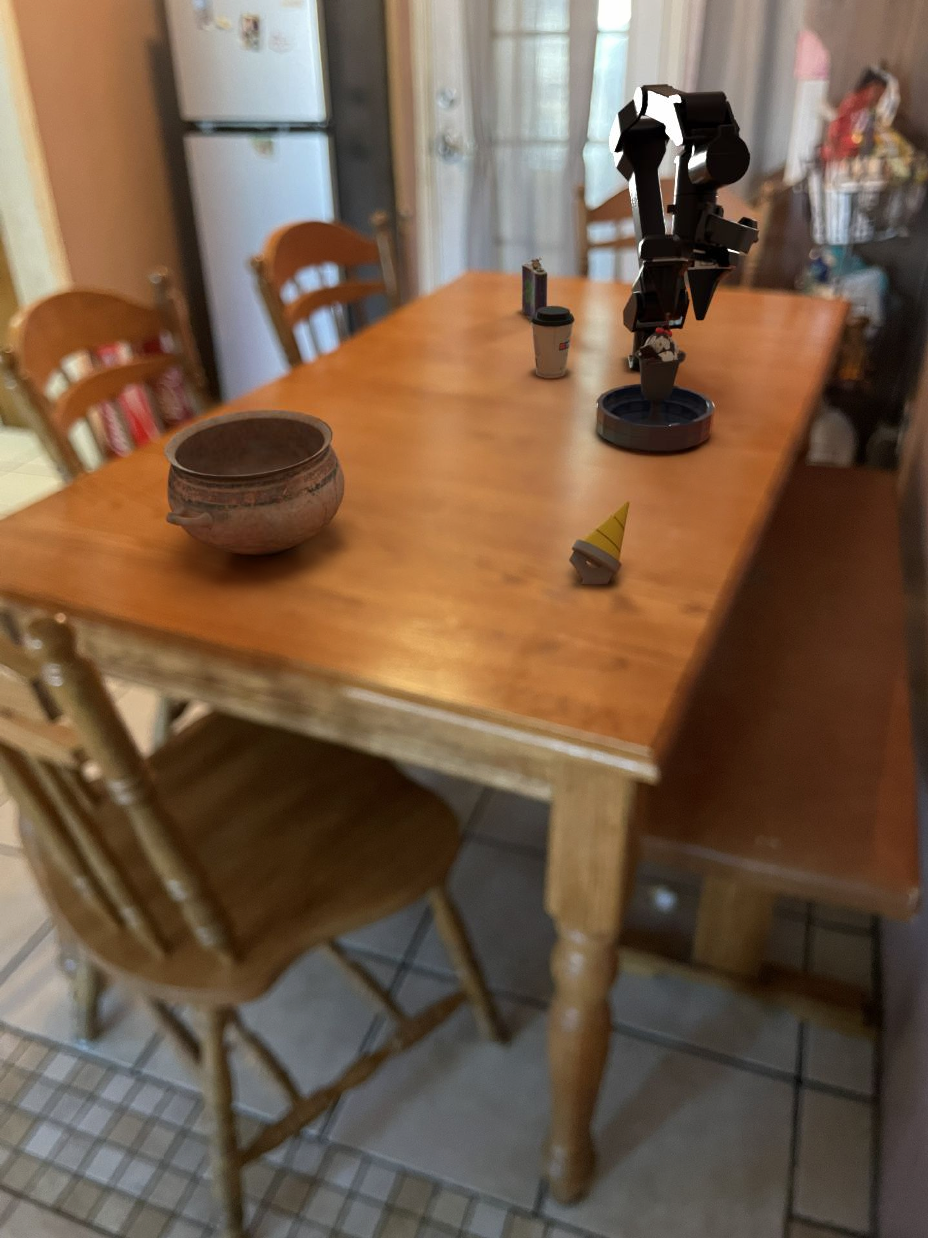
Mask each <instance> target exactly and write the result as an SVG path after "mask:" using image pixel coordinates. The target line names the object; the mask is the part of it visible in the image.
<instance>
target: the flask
mask: <svg viewBox="0 0 928 1238" xmlns="http://www.w3.org/2000/svg"><path fill="white" fill-rule="evenodd" d="M542 259H543V258H541V257H539V258H531V259H530V261H531V263H530V262H529V263H528V262H527V263H523V264H521V282H522V283H521V313H522V314H523V315H525V316H526V318H528V319H531V316H532V315H533V314H534V313H537V310H538V309H539V308H541V307H545V306H548V272H547V271H546V270H545V269H544V268H543V266H542V264H541V263H540V261H542Z"/></svg>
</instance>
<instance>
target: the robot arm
mask: <svg viewBox="0 0 928 1238" xmlns="http://www.w3.org/2000/svg"><path fill="white" fill-rule="evenodd" d="M642 117H644V118H642ZM740 131H741V127H740V126H739V124H738V122H737V120H736V118H735V115H734V112H733V109H732V106H731V104H730V101H729V100H728V97H727V95H726V93H725V92H724V91H723V90H718V91H717V90H716V91H694V92H693V91H691V92H686V91H683V90H681V89H677V88H675V87H673V85H669V84H668V83H660V84H659V83H658V84H643V85H641V86H639V87H637V88H636V90H635V93H634V96H633V98H632V99H631V100H630V101H629V102H628V103H627V104H626V105H625V106H624V107H622V109H620V110H619V111H618V112H617V113H616V116H615V119H614V121H613V125H612V127H611V131H610V134H609V135H610V136H609V150H610V152H611V153H612V154H613V158H614V164H615V168H616V170H617V171H618V173H619V174H621V176H622V177H623V178H624V179H625V180H626V182H627V184H628V190H629V197H630V198H629V199H630V205H631V213H632V214H631V215H632V222H633V229H634V237H635V246H636V254H637V262H638V273H637V275H636V278H635V280H634V282H633V284H632V286H631V294H630V296H629V298H628V300H627V302H626V304H625V306H624V308H623V310H622V324H623V326H624V327H625V328H626V330H628V331H629V332H630V333H631V334H633V340H632V352H631V353H632V354H629V355H627V359H628V360H627V361H628V365H629V371H631V372H632V371H633V372H640V363H639V359H638V358H637V357H636V356H635V353H636V352H637V351H638V350H639V348H640V347H643V346H645V344H646V341H647V339H648V338H649V337H650V336H651V335H653V334H654V333H655V330H656V329H657V328H660V327H662V325H663V324H664V323H665V321H666V313H670V316H669V325H670V331H671V332H672V330H683V328H684V325H685V322H686V318H687V315H688V312H689V311H688V310H689V307H690V302H691V303H692V309H693V314H694V317H695V321H697V322H698V321H699V322H700V321H704V320H705V319H706V316H707V313H708V312H709V311H708V310H709V308H710V305H711V303H712V301H713V297H714V295H715V293H716V290H717V288H718V285H719V283H720V282H721V281H722V280H723V279H724V278H726V277H727V275H729V274H730V275H731V274H732V273H733V271H734V269H735V268H738V267H739V260H740V253H741V252H742V253H744V254H745V255H748V254H749V253H750V250H751V248H752V245H753V244H758V242H759V240H760V237H759V233H760V230H759V229H758V226H759V225H758V220H756V219H754V218H751V217H747V216H742V217H741V218H740V219H739V220H737V221H734V220H731V219H728V218H725V217H724V215H725V209H724V207H723V205H720V204H718V195H719V190H720V189H723V188H726V187H728V186H730V185H733V184H735V183H737V182H739V181H741V179H743V178H744V176H745V175H746V174H747V171H748V169H749V167H750V163H751V153H750V150H749V147H748V145H747V144H746V141H745V140H743V138H742V137H741V136H740ZM670 140H671V141H672V142H673V143H674V144H675V146H676V147H682V149H681V151H680V152H679V153H678V154H677V155H676V156H675V159H674V165H675V178H674V180H675V181H674V191H673V203H672V204H667V205H666V214H670V215H672V217H671V229H670V234H668V233H667V228H666V222H665V221H666V220H665V212H664V205H663V197H662V188H661V181H660V173H659V168H660V166H661V164H662V162H663V159H664V157H665V155H666V153H667V147H668V144H669V142H670ZM690 268H692V269H690ZM732 268H733V269H732ZM685 274H686V275H687V280H688V287H689V291H690V296H691V298H690V297H689V291H688V289H687V286H686V281H685ZM662 328H663V329H664V331H665V330H668V316H667V321H666V323H665V325H664V326H663V327H662Z"/></svg>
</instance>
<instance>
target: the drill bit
mask: <svg viewBox="0 0 928 1238" xmlns="http://www.w3.org/2000/svg"><path fill="white" fill-rule="evenodd" d="M629 508H630V500H629V501H626V502H625V503H624V504H622V505H621V506H620V507H619V508H618V509H617V510H615V511H614V512H612V514H611V515H609V516H608V517H607V518H606V519H605V520H603V521H602V522H601V523H600V524H599V525H598V526H596V527H595V529H593V530H592V531H590V532H589V533H588V534H587V535H586V536H584V537H583V538H582V539H576V540H575V541H574V543H573V545H572V547H571V551H573V552H572V553H571V555H570V557H569V559H568V561H569V563H570V564H571V565H572V566H573V568H574V569H575V570H576V572H577V573H578V575H579V576H580V577H581V579H582V581H581V583H580V585H608V583H609V581H610V580H611V578H612V576H613V574H614V575H617V574H618V573H619V571H620V570H621V568H622V566H623V564H622V563H621V561H620V558H621V553H622V547H623V541H624V536H625V529H626V526H627V525H626V524H627V519H628V513H629ZM588 563H589V564H591V565H593V566H595V567H597V568H593V567H591V566H589V564H588Z"/></svg>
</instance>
